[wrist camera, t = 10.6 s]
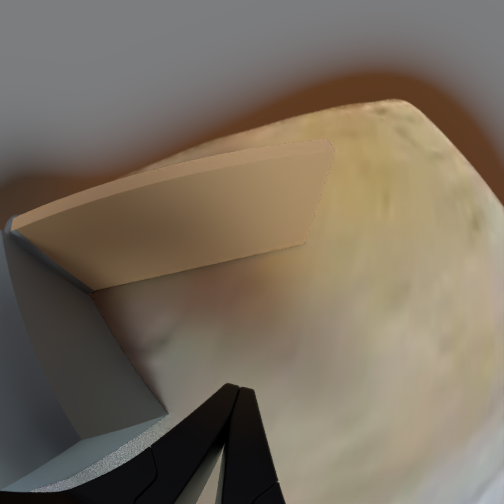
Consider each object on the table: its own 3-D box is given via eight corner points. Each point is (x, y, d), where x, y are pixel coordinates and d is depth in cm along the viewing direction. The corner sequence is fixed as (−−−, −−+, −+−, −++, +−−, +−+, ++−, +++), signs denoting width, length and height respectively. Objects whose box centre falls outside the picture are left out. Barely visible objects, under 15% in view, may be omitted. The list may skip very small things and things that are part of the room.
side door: (298, 226, 20) (323, 130, 12) (305, 246, 20) (337, 153, 11) (82, 275, 19) (8, 211, 10) (83, 295, 18) (2, 238, 10)
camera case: (168, 414, 15) (71, 442, 5) (69, 477, 12) (-31, 504, 2) (85, 284, 19) (-8, 208, 9) (6, 358, 15) (-87, 324, 6)
